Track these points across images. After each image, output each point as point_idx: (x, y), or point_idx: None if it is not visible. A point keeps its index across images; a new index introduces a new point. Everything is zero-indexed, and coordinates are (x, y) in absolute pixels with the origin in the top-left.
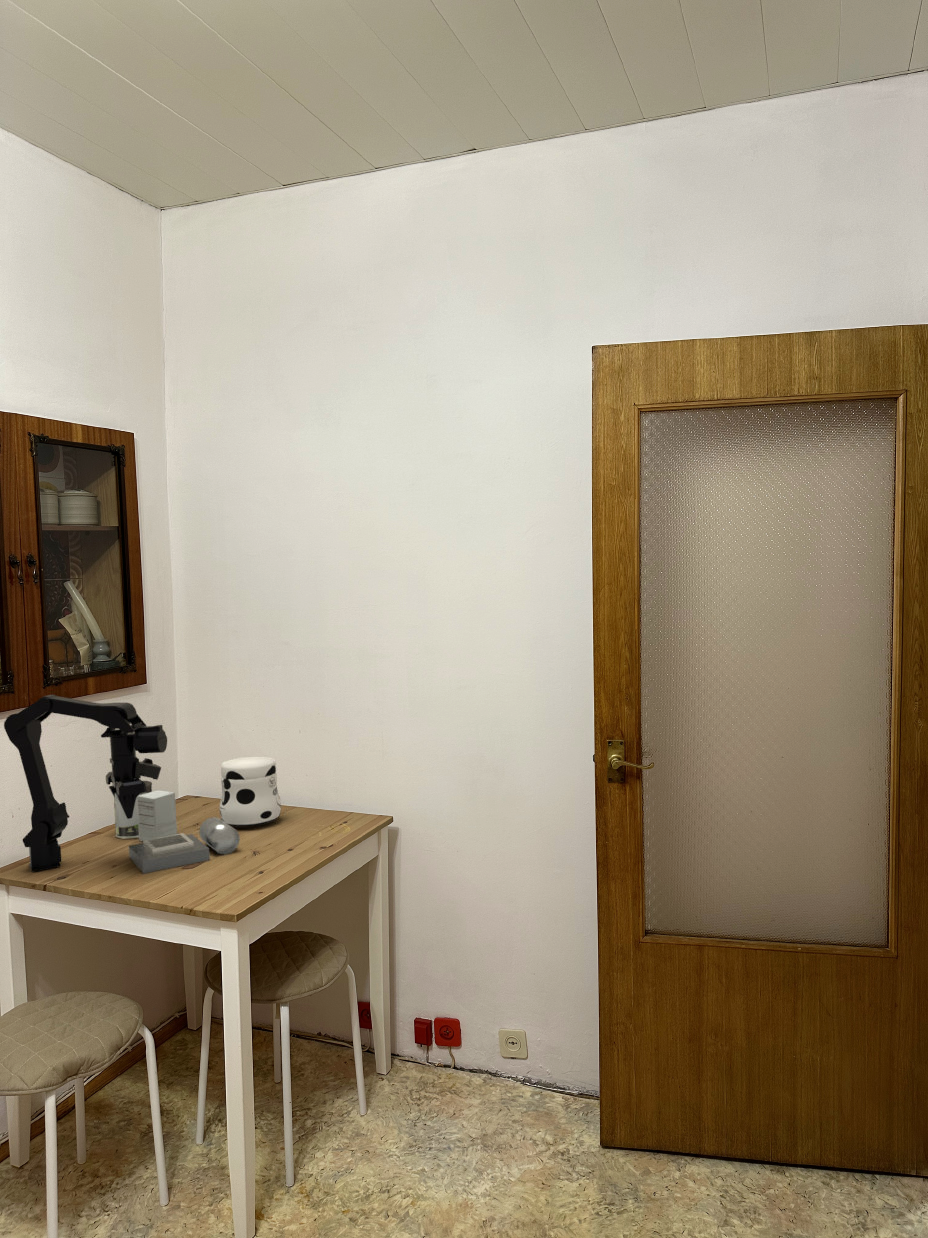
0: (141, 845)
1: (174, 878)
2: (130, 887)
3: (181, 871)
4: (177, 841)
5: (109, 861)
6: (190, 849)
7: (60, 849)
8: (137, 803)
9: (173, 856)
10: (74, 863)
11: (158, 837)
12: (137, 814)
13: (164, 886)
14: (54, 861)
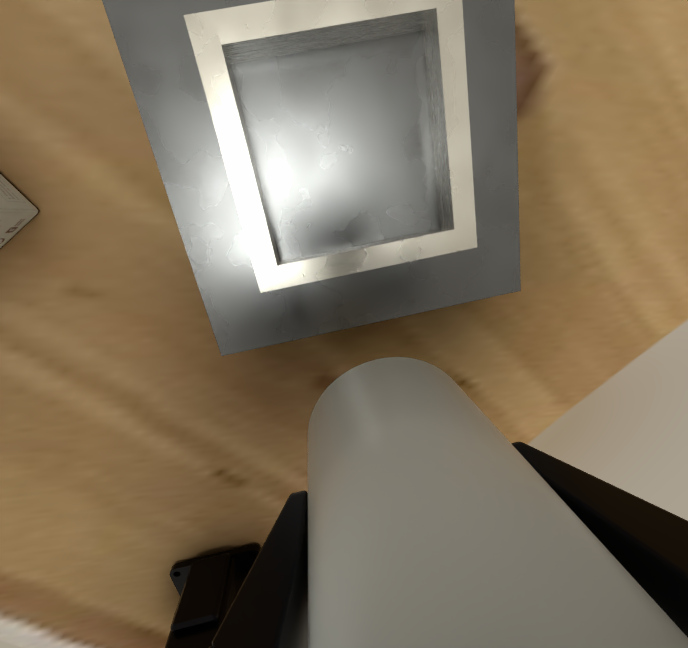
0: (246, 296)
1: (621, 164)
2: (607, 323)
3: (554, 125)
4: (251, 86)
5: (257, 405)
6: (468, 24)
7: (216, 603)
8: (516, 491)
9: (512, 141)
10: (228, 510)
11: (1, 197)
12: (465, 405)
13: (680, 209)
14: (243, 575)
